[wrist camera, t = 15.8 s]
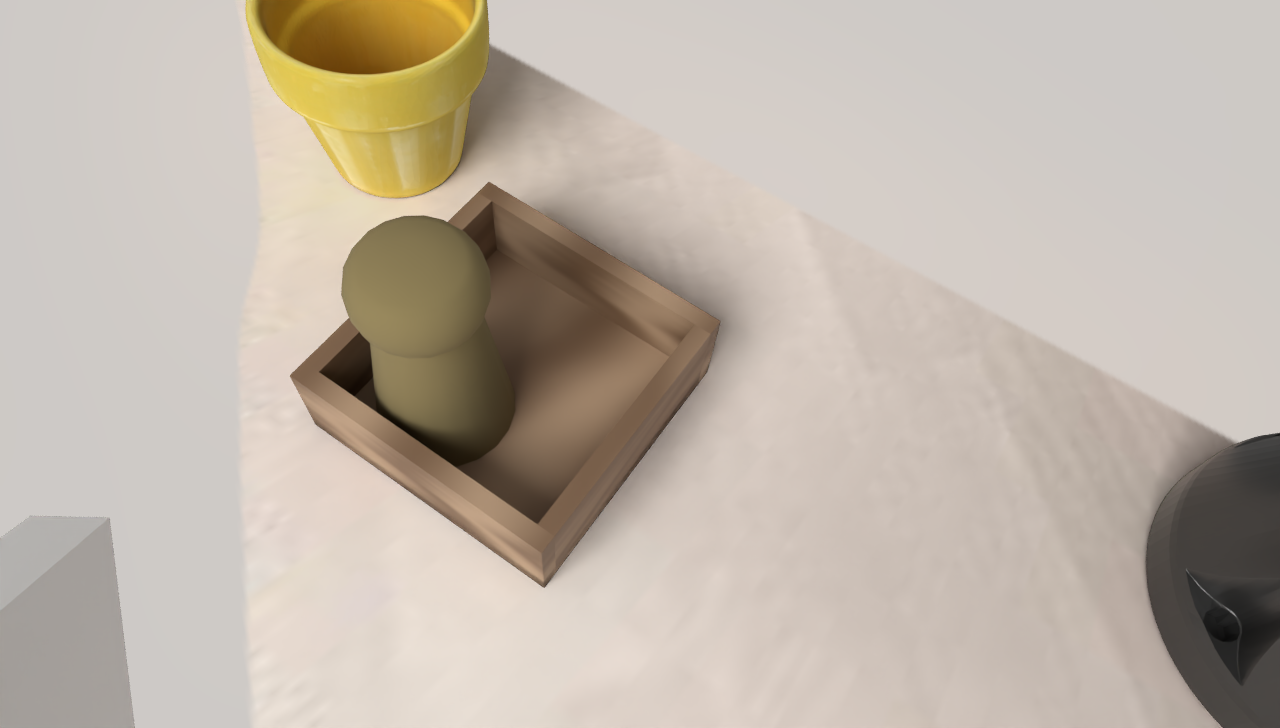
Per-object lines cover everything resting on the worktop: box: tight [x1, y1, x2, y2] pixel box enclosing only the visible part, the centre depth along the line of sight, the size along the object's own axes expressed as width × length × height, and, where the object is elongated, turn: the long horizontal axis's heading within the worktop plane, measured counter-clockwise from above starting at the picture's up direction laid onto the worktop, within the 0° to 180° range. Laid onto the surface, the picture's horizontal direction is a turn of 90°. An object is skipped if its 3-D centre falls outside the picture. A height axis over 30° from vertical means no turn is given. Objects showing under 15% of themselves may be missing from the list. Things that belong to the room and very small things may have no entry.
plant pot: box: [246, 0, 489, 198], centre depth 46 cm, size 10×10×10 cm
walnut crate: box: [290, 182, 720, 587], centre depth 41 cm, size 13×13×4 cm
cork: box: [341, 216, 515, 467], centre depth 37 cm, size 6×6×11 cm
